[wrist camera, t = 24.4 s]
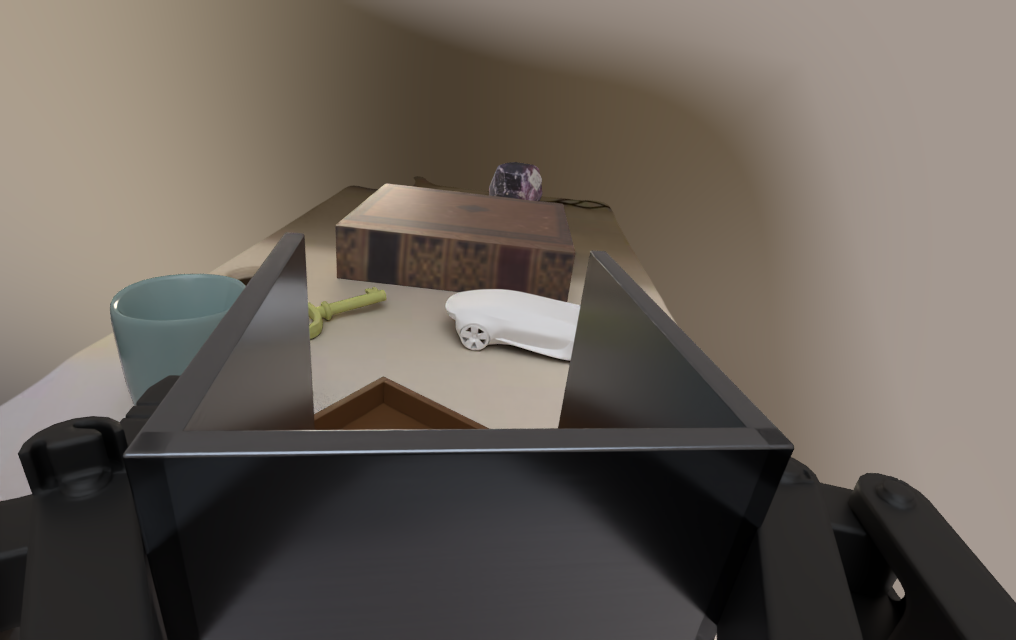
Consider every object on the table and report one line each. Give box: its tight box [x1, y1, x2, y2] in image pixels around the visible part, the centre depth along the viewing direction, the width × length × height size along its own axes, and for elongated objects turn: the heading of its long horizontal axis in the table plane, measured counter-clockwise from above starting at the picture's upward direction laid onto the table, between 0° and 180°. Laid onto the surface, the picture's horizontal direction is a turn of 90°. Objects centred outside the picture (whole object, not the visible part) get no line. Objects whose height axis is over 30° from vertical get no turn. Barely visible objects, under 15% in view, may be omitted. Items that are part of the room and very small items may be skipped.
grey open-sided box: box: [123, 233, 794, 640], centre depth 13 cm, size 9×9×9 cm
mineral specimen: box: [489, 162, 542, 201], centre depth 101 cm, size 10×10×10 cm
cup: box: [110, 274, 246, 406], centre depth 36 cm, size 8×8×10 cm
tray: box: [314, 377, 489, 430], centre depth 33 cm, size 17×14×2 cm
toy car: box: [445, 289, 581, 360], centre depth 55 cm, size 18×8×4 cm, turn 84°
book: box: [336, 184, 575, 302], centre depth 75 cm, size 24×28×6 cm
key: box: [308, 287, 386, 339], centre depth 55 cm, size 7×12×2 cm, turn 146°
